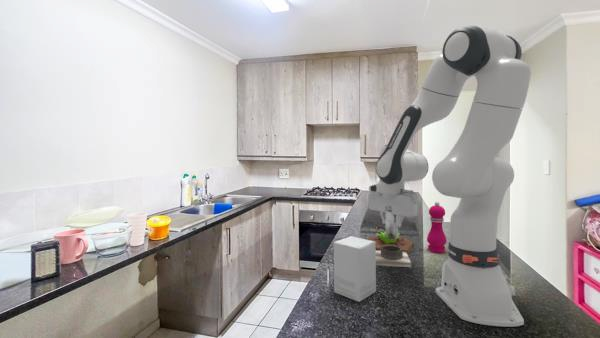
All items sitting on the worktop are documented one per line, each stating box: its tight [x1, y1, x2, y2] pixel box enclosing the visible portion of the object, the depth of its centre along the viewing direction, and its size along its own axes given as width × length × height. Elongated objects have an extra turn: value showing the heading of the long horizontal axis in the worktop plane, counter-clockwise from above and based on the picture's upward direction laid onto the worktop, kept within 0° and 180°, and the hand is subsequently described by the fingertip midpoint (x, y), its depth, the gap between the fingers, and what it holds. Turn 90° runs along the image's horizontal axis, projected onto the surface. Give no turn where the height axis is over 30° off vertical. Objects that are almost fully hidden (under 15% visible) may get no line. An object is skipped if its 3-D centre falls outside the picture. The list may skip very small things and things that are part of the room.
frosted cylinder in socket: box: [384, 205, 399, 239], centre depth 112 cm, size 5×5×12 cm
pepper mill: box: [426, 201, 448, 254], centre depth 122 cm, size 7×7×20 cm
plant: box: [366, 225, 415, 256], centre depth 128 cm, size 20×20×11 cm
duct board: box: [376, 245, 412, 268], centre depth 113 cm, size 12×12×4 cm
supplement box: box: [333, 235, 377, 303], centre depth 88 cm, size 9×9×15 cm
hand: (391, 225), depth 112 cm, fingers closed on frosted cylinder in socket, 4 cm apart
